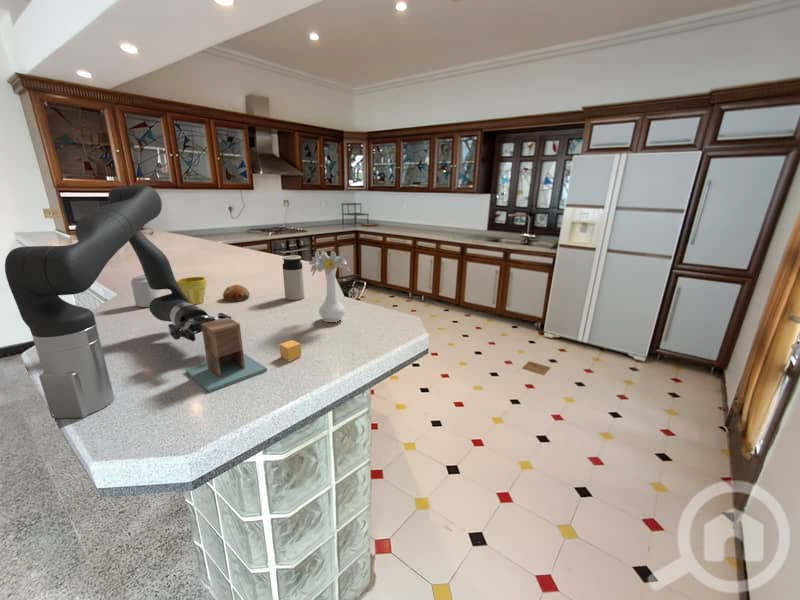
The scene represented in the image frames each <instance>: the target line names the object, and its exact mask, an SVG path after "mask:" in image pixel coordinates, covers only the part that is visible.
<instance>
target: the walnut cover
mask: <svg viewBox="0 0 800 600" xmlns="http://www.w3.org/2000/svg"><path fill="white" fill-rule="evenodd" d="M240 326H241V325H240V322H238V321H235V320H233V319H232V318H231V319H230V318H224V319H220V320H215V321H211V322H207V323H203V324H201V327H202V332H201V333H202V337H203V338H202V339H203V345H204V351H205V357H206V363H207V365H208V369H209V370H210V371H211V372H213V373H214V374H215V375H216V376H218V377H221V370H220V366H221V365H225V364H228V363H231V362H233V363H235V364H236V365H238V366H239V367H241V368H242V369H244V368H245V363H244V355H243V353H244V349H243V342H242V341H243V340H242V333H241V332H242V331H241V327H240Z"/></svg>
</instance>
